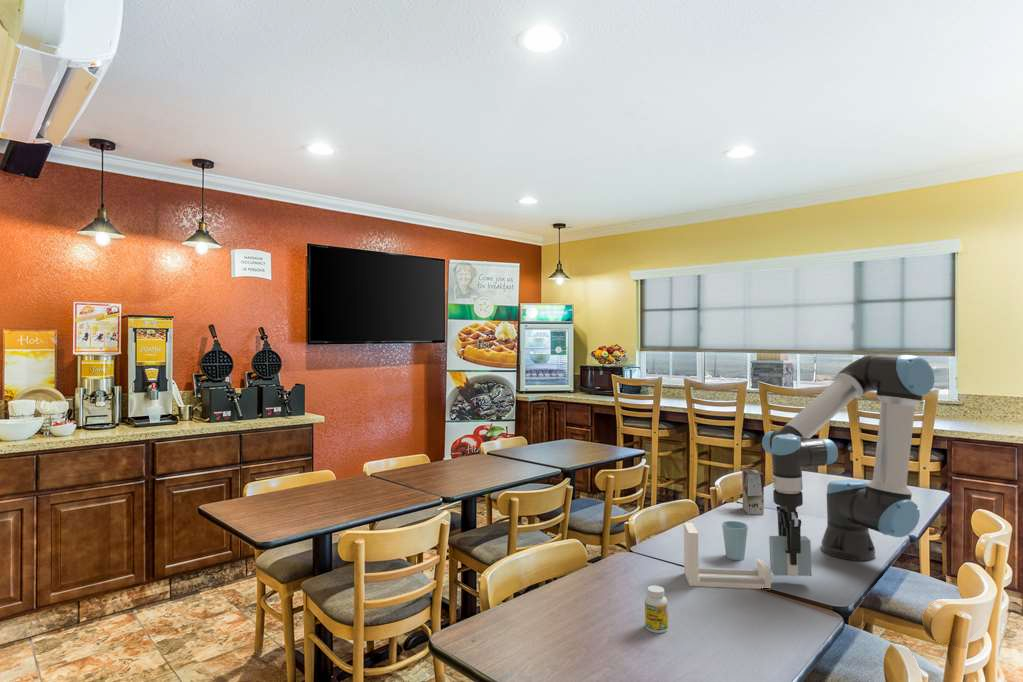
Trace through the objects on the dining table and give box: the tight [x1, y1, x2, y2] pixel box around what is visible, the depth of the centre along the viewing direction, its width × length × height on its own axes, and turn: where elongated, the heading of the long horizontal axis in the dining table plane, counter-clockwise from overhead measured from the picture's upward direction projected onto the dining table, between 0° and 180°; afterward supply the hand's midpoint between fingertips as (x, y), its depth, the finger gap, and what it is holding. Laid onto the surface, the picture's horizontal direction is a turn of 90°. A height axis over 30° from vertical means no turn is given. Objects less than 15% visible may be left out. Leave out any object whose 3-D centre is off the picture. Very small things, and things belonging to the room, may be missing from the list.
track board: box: [683, 522, 772, 590], centre depth 169 cm, size 22×9×15 cm, turn 82°
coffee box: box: [741, 468, 765, 516], centre depth 235 cm, size 9×6×16 cm
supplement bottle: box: [644, 585, 669, 634], centre depth 142 cm, size 5×5×10 cm
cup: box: [721, 520, 749, 561], centre depth 187 cm, size 8×8×10 cm
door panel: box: [768, 535, 813, 577], centre depth 167 cm, size 10×4×10 cm, turn 82°
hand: (790, 571), depth 167 cm, fingers closed on door panel, 3 cm apart
